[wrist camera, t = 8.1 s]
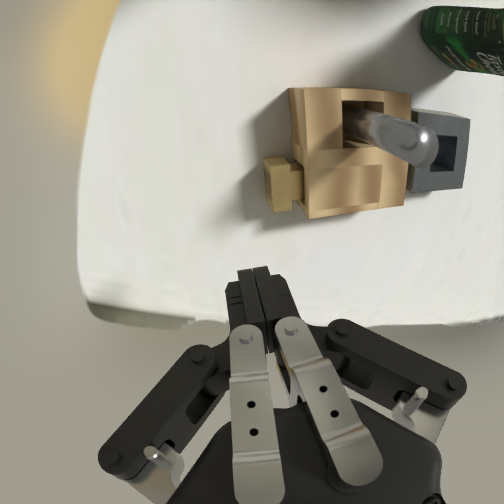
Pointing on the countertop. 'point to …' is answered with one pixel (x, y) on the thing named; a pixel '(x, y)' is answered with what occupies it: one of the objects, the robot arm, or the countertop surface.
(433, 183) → the grey square holed block
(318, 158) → the socket block
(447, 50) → the coffee jar
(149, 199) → the countertop surface
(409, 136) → the cylinder
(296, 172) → the block
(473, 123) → the countertop surface
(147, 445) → the robot arm
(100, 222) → the countertop surface
